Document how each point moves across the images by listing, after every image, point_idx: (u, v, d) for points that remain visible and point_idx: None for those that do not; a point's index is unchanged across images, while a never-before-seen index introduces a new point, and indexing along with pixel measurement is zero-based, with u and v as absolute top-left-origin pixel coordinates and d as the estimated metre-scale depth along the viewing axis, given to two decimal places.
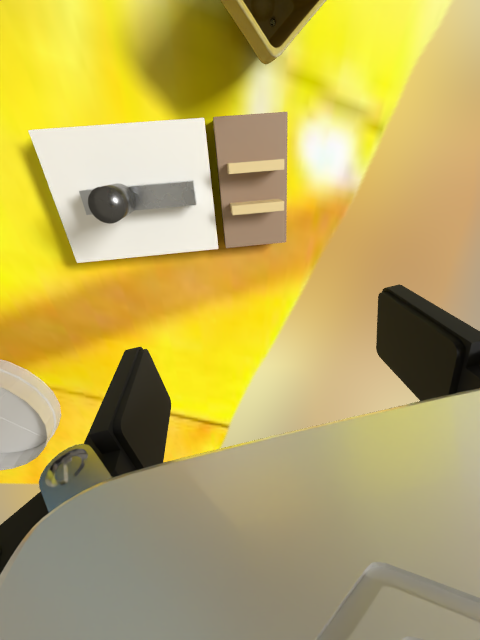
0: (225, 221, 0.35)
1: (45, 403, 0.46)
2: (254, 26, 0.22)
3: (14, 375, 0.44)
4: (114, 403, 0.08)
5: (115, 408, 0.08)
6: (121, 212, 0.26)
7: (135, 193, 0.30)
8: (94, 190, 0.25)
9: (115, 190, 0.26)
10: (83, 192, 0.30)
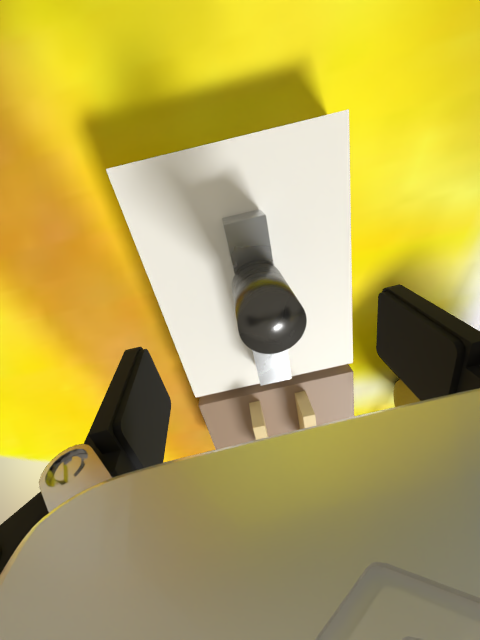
0: (235, 399, 0.25)
1: None
2: None
3: None
4: (114, 403, 0.08)
5: (116, 408, 0.08)
6: (261, 349, 0.13)
7: None
8: (299, 306, 0.13)
9: None
10: (263, 223, 0.16)
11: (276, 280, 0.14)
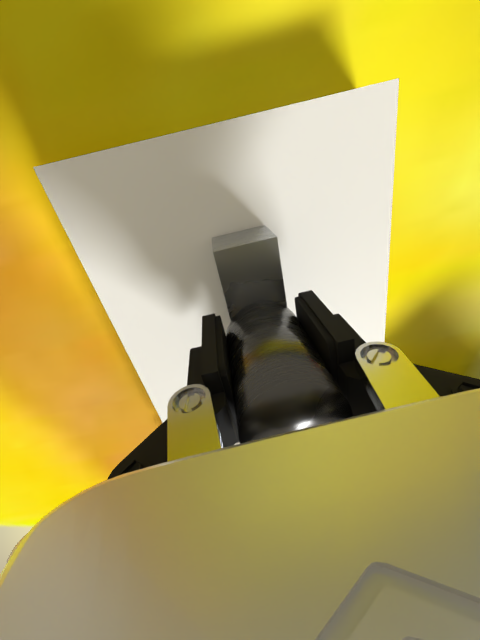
0: None
1: None
2: None
3: None
4: (213, 353, 0.09)
5: (216, 356, 0.09)
6: None
7: None
8: (342, 400, 0.07)
9: None
10: (273, 248, 0.10)
11: (298, 346, 0.09)
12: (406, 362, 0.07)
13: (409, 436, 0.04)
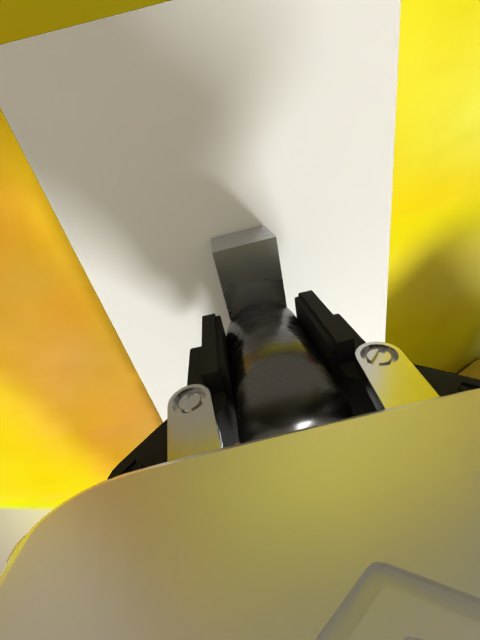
0: None
1: None
2: None
3: None
4: (213, 353, 0.09)
5: (217, 356, 0.09)
6: None
7: None
8: (342, 400, 0.07)
9: None
10: (272, 248, 0.10)
11: (298, 346, 0.09)
12: (406, 362, 0.07)
13: (409, 436, 0.04)
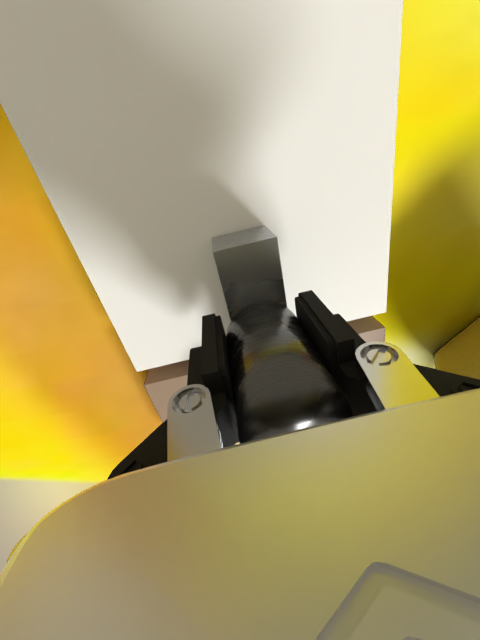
0: None
1: None
2: None
3: None
4: (213, 353, 0.09)
5: (216, 356, 0.09)
6: None
7: None
8: (342, 401, 0.07)
9: None
10: (273, 248, 0.10)
11: (298, 346, 0.09)
12: (406, 362, 0.07)
13: (409, 436, 0.04)
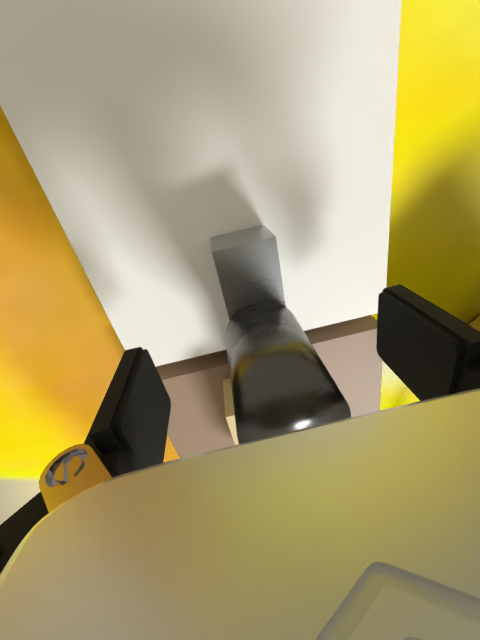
0: (200, 374, 0.16)
1: None
2: None
3: None
4: (114, 403, 0.08)
5: (115, 408, 0.08)
6: None
7: None
8: (340, 400, 0.07)
9: None
10: (272, 248, 0.10)
11: (297, 345, 0.09)
12: None
13: (409, 436, 0.04)
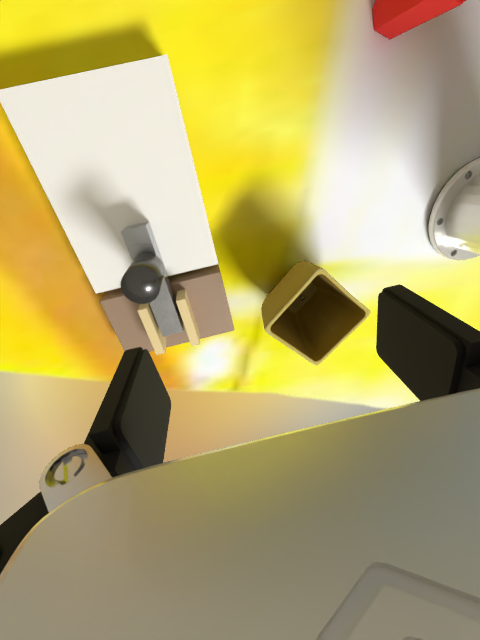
0: None
1: None
2: (280, 311, 0.29)
3: None
4: (114, 403, 0.08)
5: (115, 408, 0.08)
6: (137, 301, 0.24)
7: None
8: (153, 275, 0.23)
9: (158, 293, 0.25)
10: (145, 230, 0.26)
11: (146, 262, 0.25)
12: None
13: (409, 436, 0.04)
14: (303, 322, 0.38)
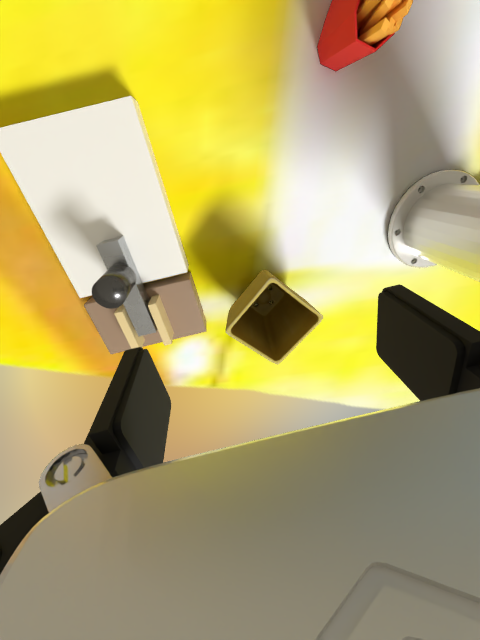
0: None
1: None
2: (238, 316, 0.33)
3: None
4: (114, 403, 0.08)
5: (115, 408, 0.08)
6: (107, 306, 0.28)
7: (131, 289, 0.33)
8: (119, 284, 0.27)
9: (125, 299, 0.29)
10: (117, 244, 0.30)
11: (115, 273, 0.29)
12: None
13: (409, 436, 0.04)
14: (271, 325, 0.41)
